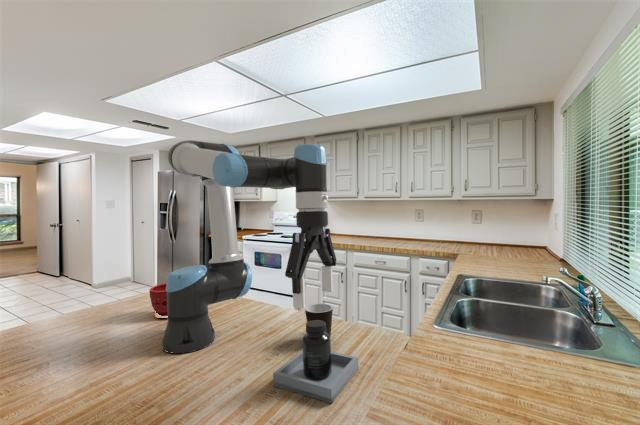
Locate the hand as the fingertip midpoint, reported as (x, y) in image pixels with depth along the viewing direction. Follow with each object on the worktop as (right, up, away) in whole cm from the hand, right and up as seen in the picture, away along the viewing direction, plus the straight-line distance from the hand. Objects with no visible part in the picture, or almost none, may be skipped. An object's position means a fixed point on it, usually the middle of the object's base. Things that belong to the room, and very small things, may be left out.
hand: (314, 298), depth 74 cm
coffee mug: (+2, -19, +22) cm, 29 cm away
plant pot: (-59, -21, +49) cm, 79 cm away
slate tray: (+1, -19, 0) cm, 19 cm away
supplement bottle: (+1, -18, 0) cm, 18 cm away
